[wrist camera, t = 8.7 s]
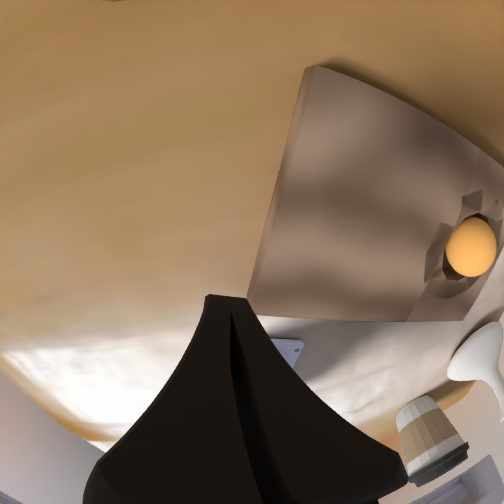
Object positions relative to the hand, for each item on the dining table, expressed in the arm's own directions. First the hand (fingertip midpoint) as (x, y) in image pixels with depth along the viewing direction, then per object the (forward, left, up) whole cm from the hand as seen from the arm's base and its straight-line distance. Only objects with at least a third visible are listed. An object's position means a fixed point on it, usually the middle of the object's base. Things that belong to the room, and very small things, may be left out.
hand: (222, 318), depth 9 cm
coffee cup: (-28, -37, -10) cm, 47 cm away
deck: (+2, -15, -9) cm, 18 cm away
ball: (+2, -20, -7) cm, 21 cm away
